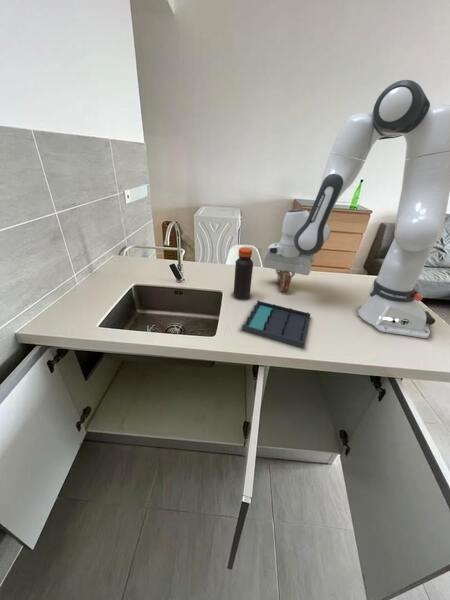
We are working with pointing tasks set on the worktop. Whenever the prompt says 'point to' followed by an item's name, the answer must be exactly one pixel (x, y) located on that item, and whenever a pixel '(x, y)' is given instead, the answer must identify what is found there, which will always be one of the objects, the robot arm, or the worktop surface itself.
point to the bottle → (243, 274)
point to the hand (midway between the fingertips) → (283, 279)
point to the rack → (278, 323)
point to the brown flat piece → (284, 280)
